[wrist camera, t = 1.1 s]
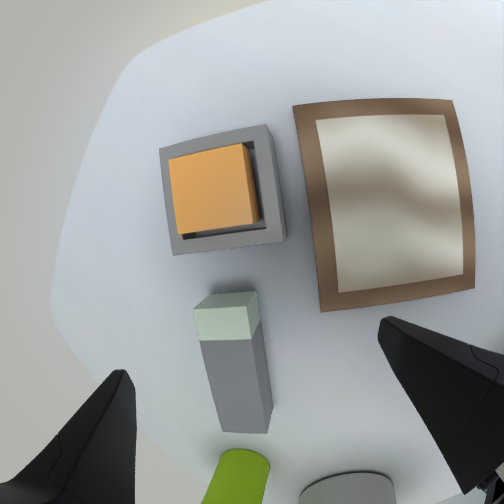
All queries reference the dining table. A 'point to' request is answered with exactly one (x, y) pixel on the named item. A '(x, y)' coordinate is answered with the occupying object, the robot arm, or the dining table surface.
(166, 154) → the button housing
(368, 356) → the dining table surface
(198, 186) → the button
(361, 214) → the board
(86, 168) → the dining table surface
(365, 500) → the cylinder vase
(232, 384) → the grey green block
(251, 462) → the soap dispenser
